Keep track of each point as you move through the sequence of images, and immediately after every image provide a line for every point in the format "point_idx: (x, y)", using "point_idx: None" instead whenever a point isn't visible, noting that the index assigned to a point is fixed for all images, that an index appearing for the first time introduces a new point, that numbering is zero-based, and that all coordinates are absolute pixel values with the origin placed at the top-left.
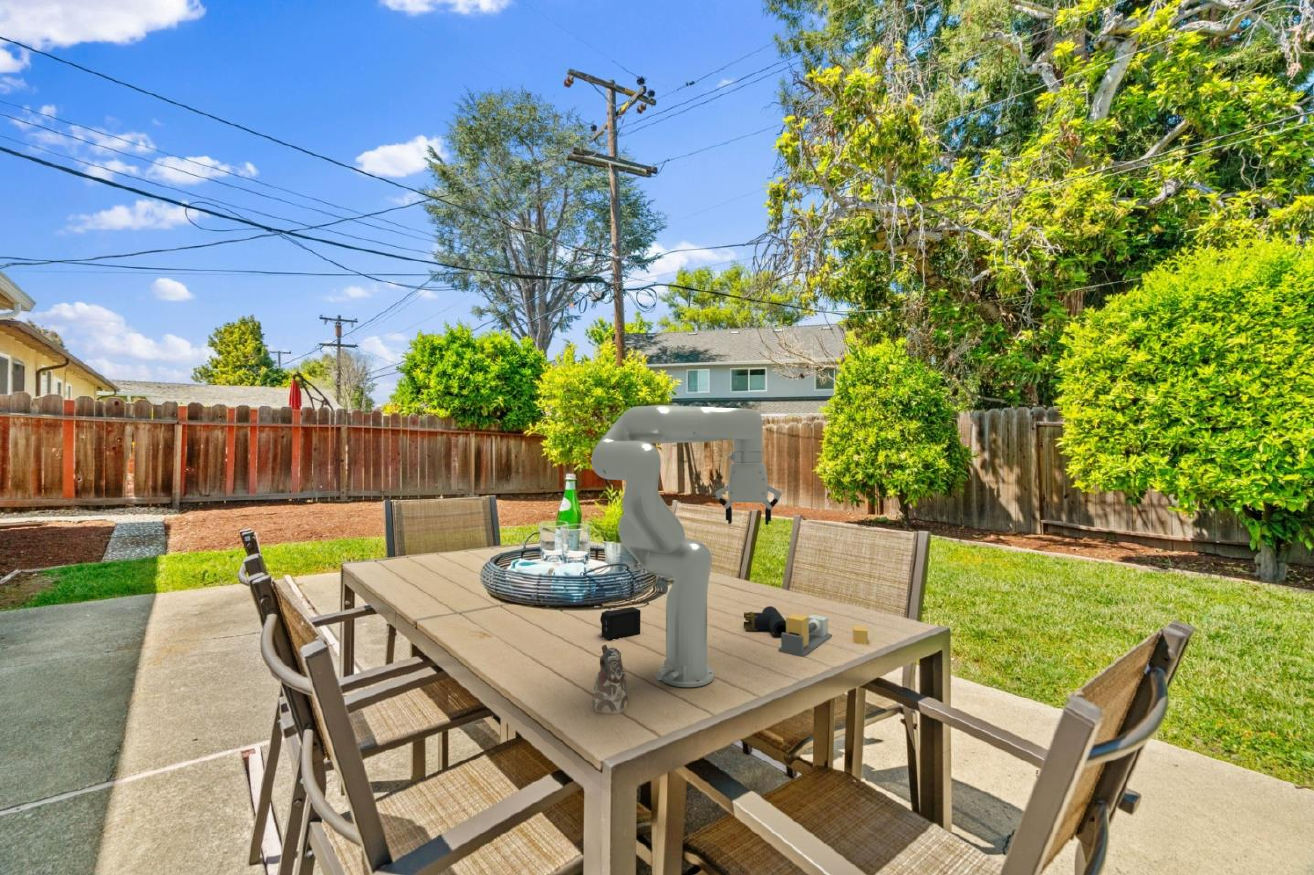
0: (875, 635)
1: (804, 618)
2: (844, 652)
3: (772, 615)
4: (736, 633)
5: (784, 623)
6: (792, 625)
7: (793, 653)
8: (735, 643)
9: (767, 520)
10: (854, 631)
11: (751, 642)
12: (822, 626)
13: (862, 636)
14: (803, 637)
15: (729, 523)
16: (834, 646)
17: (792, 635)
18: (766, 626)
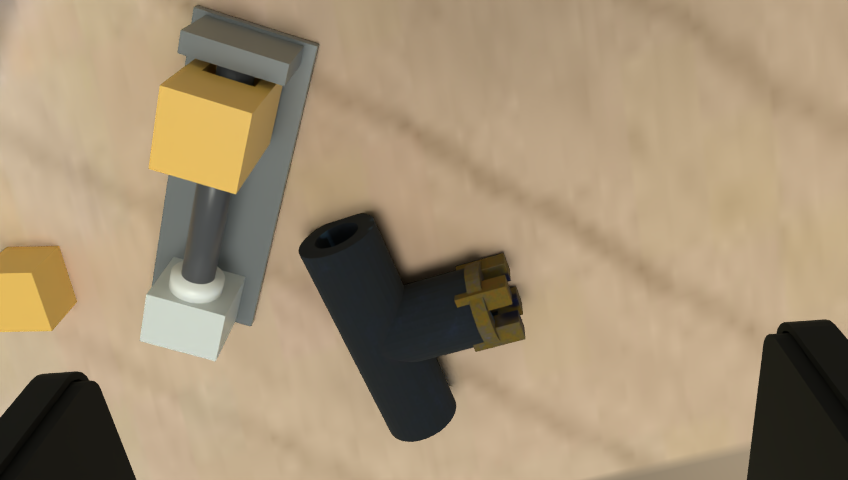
0: (9, 350)
1: (158, 127)
2: (58, 121)
3: (388, 331)
4: (540, 215)
5: (318, 252)
6: (225, 91)
7: (246, 21)
8: (526, 81)
9: (9, 419)
10: (30, 270)
11: (456, 119)
12: (161, 280)
13: (9, 261)
14: (179, 51)
15: (797, 322)
16: (114, 181)
17: (231, 52)
18: (414, 283)
